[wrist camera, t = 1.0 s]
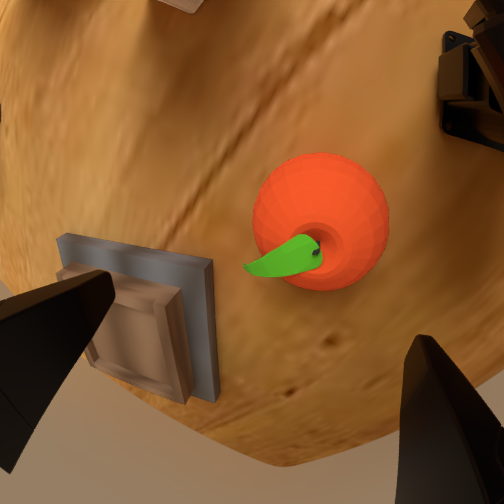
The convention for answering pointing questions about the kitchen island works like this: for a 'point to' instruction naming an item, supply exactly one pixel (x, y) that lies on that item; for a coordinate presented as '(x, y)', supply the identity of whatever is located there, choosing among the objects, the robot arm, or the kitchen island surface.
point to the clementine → (319, 222)
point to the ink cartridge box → (184, 4)
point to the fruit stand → (151, 317)
